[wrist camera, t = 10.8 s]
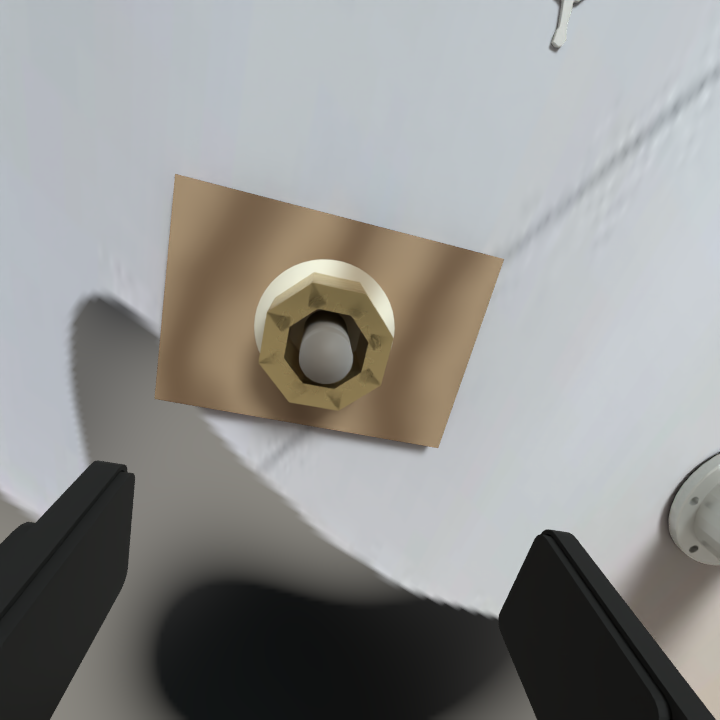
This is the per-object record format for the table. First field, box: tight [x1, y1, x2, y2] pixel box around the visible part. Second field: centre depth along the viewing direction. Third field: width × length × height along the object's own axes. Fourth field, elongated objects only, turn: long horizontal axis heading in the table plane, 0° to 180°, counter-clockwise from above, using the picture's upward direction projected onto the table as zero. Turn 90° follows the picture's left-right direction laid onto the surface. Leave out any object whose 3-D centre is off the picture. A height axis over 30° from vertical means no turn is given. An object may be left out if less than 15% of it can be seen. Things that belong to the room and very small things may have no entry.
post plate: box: [155, 174, 504, 448], centre depth 25 cm, size 20×14×7 cm
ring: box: [259, 272, 394, 411], centre depth 24 cm, size 7×7×4 cm
